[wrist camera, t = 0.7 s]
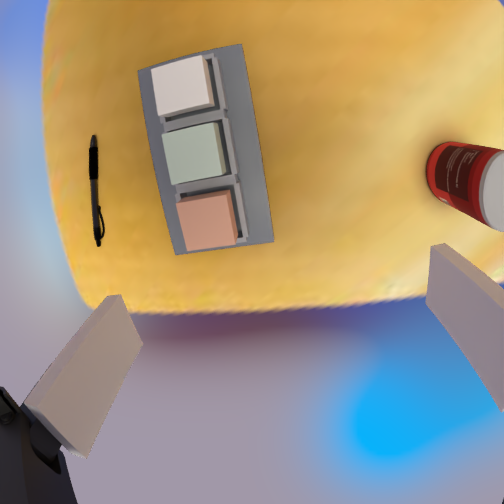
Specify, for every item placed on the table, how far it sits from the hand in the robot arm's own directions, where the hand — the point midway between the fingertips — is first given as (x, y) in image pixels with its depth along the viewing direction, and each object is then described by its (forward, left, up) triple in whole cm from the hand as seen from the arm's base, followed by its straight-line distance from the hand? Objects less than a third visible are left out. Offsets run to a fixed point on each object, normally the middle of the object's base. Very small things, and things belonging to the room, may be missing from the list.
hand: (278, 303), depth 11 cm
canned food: (-1, +22, -21) cm, 30 cm away
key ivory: (-12, -6, -17) cm, 21 cm away
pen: (-4, -20, -21) cm, 29 cm away
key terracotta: (0, -6, -17) cm, 18 cm away
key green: (-6, -6, -17) cm, 19 cm away
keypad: (-6, -6, -20) cm, 22 cm away
